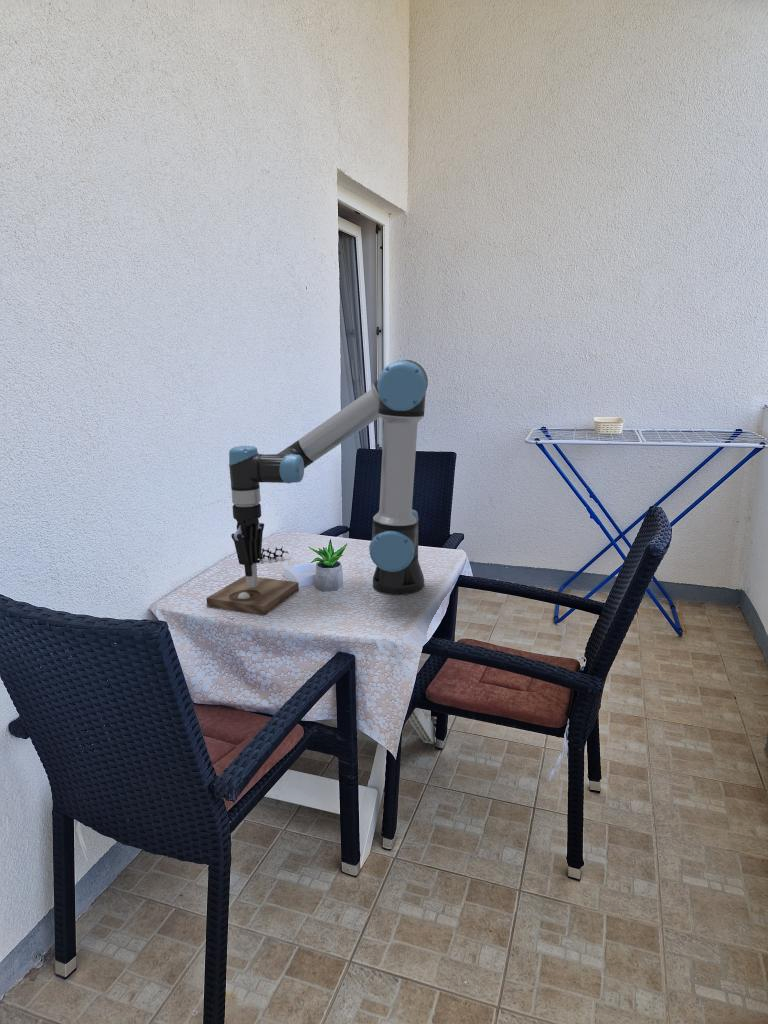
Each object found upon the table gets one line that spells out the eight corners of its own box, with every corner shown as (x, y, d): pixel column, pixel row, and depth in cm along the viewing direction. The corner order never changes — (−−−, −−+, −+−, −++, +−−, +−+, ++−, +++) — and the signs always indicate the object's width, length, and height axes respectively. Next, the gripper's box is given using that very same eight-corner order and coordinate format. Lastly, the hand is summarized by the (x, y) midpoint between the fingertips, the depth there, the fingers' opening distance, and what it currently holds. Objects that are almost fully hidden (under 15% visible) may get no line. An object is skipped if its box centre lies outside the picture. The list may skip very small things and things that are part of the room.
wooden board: (298, 590, 189) (298, 582, 188) (264, 615, 171) (263, 606, 171) (245, 583, 195) (244, 575, 194) (207, 606, 178) (206, 598, 177)
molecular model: (289, 561, 215) (288, 536, 213) (244, 566, 210) (242, 541, 208) (286, 555, 221) (284, 532, 219) (241, 561, 216) (239, 537, 214)
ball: (251, 606, 179) (253, 593, 180) (245, 605, 176) (247, 592, 176) (240, 604, 180) (242, 592, 181) (234, 603, 177) (236, 591, 178)
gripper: (247, 497, 183) (253, 576, 189) (220, 508, 171) (227, 592, 177) (271, 499, 180) (275, 579, 186) (244, 510, 169) (250, 595, 175)
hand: (252, 585), depth 182 cm, fingers closed
